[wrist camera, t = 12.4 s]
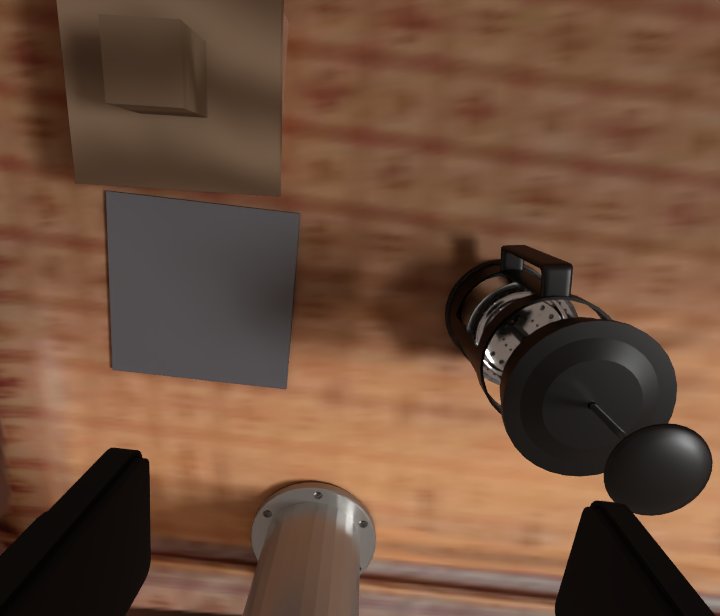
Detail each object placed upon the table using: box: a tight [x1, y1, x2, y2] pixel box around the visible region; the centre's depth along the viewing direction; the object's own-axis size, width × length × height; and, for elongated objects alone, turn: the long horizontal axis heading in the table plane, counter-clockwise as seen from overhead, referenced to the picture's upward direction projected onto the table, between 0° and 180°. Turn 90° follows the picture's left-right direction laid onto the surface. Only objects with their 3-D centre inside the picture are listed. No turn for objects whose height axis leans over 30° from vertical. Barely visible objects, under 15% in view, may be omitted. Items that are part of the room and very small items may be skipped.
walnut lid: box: [56, 0, 284, 197], centre depth 27 cm, size 14×14×5 cm
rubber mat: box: [106, 191, 300, 389], centre depth 39 cm, size 16×16×1 cm
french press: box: [445, 245, 712, 516], centre depth 28 cm, size 12×9×23 cm
